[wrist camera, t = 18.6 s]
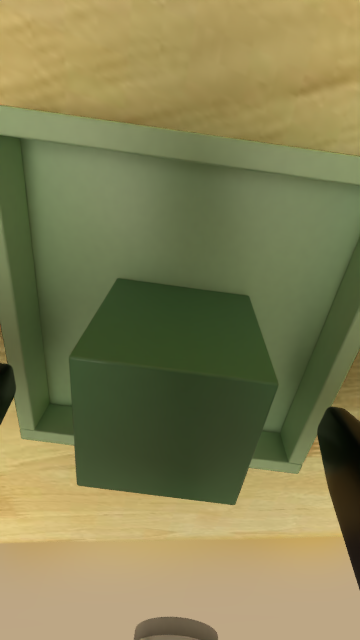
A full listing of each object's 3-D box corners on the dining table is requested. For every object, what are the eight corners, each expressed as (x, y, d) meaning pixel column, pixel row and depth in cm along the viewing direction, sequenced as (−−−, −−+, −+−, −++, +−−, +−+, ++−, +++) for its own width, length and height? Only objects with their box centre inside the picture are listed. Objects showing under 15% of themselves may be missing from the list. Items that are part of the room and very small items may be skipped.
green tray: (285, 432, 14) (298, 474, 13) (43, 401, 14) (21, 439, 12) (398, 164, 9) (451, 168, 7) (7, 108, 9) (-44, 97, 7)
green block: (224, 394, 13) (235, 506, 9) (114, 380, 13) (76, 486, 9) (249, 295, 10) (280, 384, 7) (116, 277, 10) (67, 356, 6)
